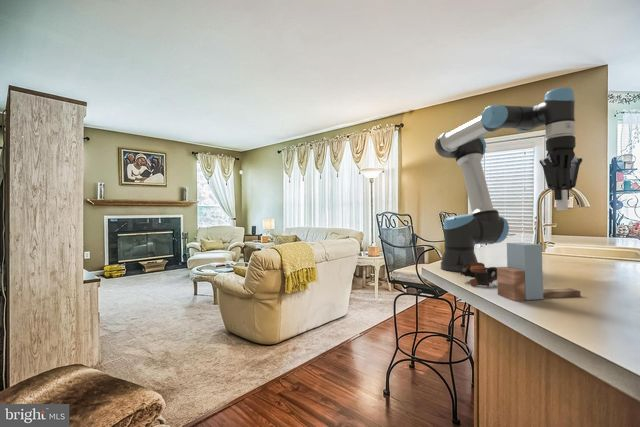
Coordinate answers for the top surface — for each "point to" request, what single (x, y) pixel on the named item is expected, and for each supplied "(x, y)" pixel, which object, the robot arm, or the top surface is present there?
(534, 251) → the blue-grey tall block
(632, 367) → the top surface
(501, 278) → the wooden mallet
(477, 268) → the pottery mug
